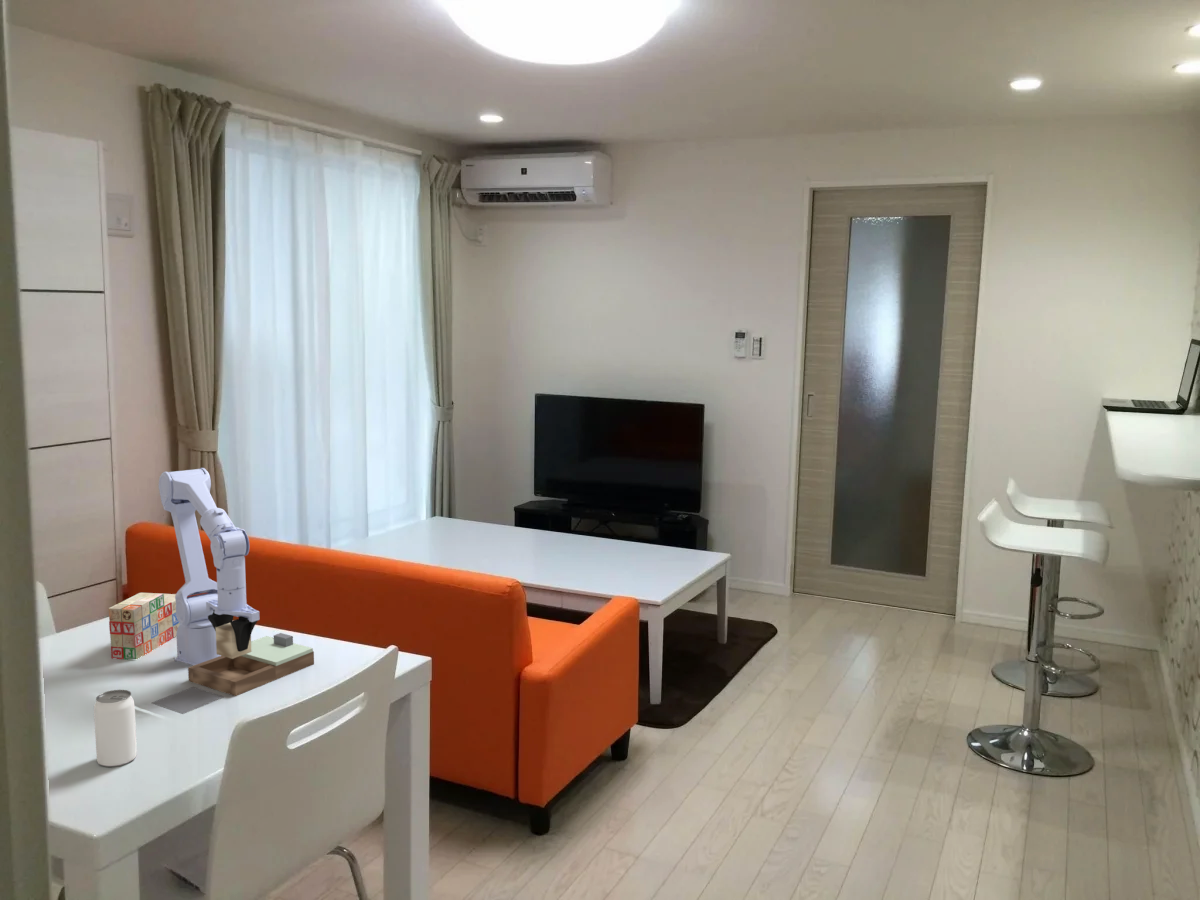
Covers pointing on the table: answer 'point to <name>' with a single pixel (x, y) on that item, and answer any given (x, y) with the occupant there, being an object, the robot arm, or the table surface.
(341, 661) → the table surface
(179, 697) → the mat
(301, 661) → the brown wooden shallow box
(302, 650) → the lid
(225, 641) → the block
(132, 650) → the stack of blocks
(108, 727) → the can
